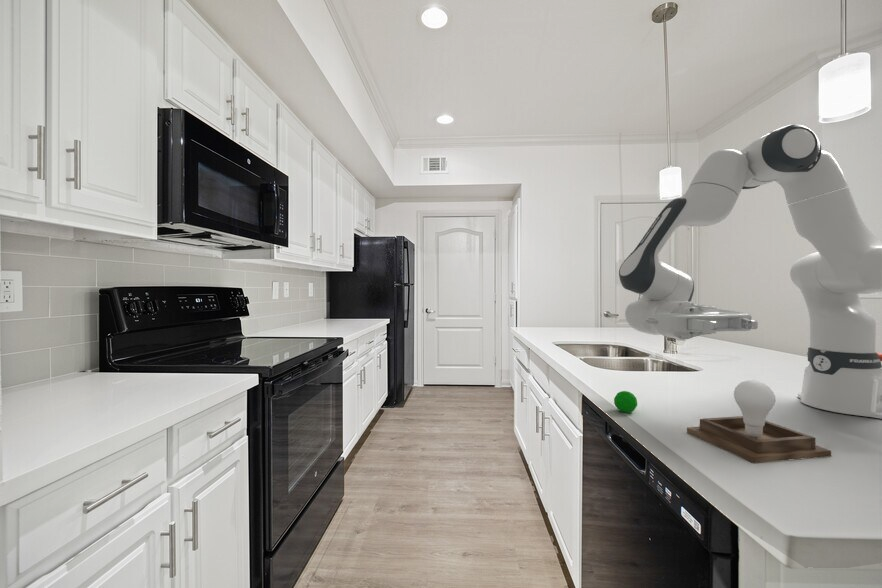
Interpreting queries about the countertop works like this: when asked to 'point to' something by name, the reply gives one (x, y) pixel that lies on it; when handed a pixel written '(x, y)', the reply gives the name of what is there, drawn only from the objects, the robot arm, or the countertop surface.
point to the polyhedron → (625, 402)
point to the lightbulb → (754, 405)
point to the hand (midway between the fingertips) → (734, 325)
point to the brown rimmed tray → (757, 440)
